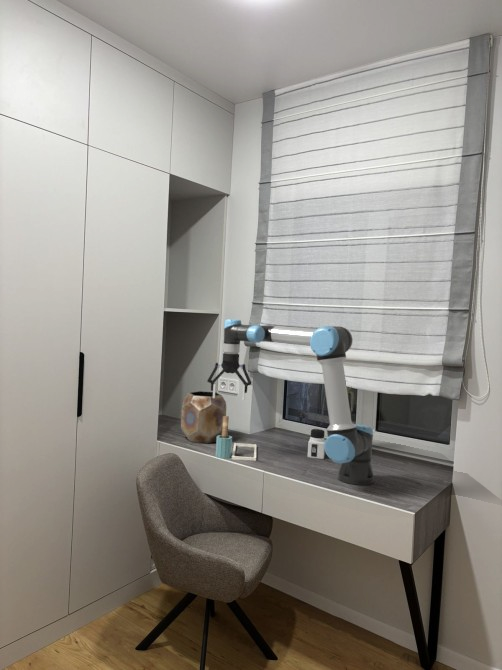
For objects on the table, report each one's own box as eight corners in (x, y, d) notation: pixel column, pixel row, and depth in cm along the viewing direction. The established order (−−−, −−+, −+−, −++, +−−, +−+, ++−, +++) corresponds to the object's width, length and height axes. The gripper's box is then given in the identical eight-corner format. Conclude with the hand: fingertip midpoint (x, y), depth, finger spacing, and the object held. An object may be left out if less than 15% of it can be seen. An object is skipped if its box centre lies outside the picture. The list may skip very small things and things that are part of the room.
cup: (230, 461, 233) (231, 439, 233) (214, 460, 233) (216, 438, 233) (231, 456, 240) (232, 435, 240) (216, 455, 240) (217, 434, 240)
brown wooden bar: (225, 457, 234) (228, 417, 234) (220, 457, 234) (222, 417, 234) (226, 454, 240) (228, 415, 240) (221, 454, 240) (223, 415, 240)
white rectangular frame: (255, 462, 232) (256, 458, 232) (231, 461, 233) (231, 456, 232) (256, 448, 256) (256, 444, 256) (234, 447, 257) (234, 443, 256)
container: (323, 459, 244) (325, 432, 244) (307, 457, 246) (309, 430, 245) (324, 455, 252) (326, 428, 251) (308, 453, 254) (310, 427, 253)
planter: (174, 434, 275) (176, 390, 274) (217, 433, 285) (220, 390, 284) (186, 445, 255) (188, 398, 254) (232, 443, 264) (234, 397, 263)
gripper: (258, 353, 241) (255, 399, 242) (205, 350, 241) (202, 395, 242) (258, 355, 233) (255, 401, 234) (203, 351, 234) (200, 398, 235)
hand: (228, 398), depth 238 cm, fingers open, 13 cm apart
